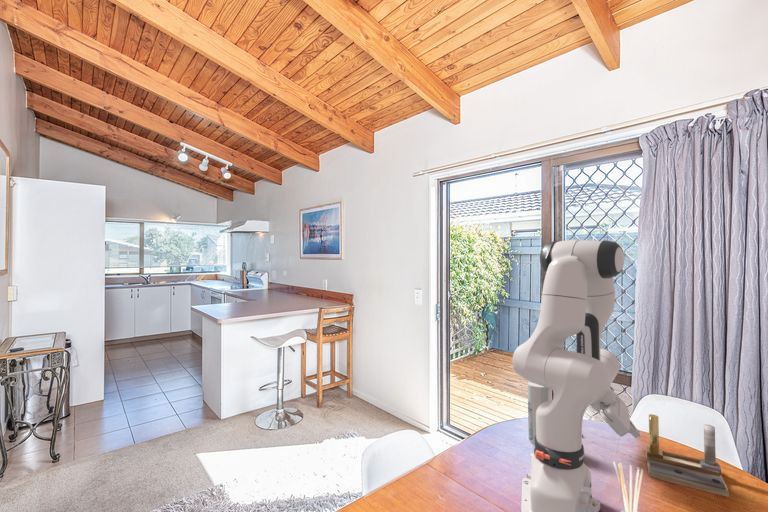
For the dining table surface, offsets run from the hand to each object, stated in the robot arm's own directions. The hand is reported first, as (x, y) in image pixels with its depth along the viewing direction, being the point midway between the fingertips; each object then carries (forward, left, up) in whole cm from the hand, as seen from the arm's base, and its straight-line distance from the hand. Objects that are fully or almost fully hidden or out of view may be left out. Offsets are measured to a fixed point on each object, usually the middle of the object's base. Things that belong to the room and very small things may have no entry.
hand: (638, 435), depth 114 cm
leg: (0, -4, -5) cm, 6 cm away
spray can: (-7, +28, -7) cm, 30 cm away
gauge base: (-4, -11, -7) cm, 13 cm away
